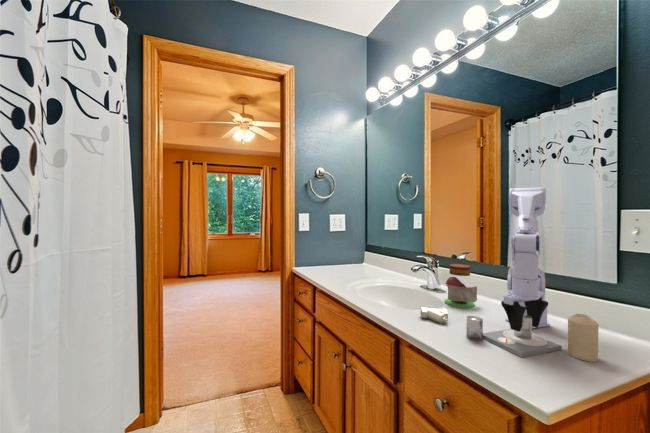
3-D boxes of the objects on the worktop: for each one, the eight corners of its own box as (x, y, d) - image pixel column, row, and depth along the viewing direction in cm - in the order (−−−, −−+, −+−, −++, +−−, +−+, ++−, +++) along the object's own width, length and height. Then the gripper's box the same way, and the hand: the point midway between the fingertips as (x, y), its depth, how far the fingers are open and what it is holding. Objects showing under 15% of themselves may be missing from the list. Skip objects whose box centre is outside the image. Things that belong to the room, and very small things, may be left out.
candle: (601, 364, 65) (601, 321, 65) (570, 357, 68) (570, 316, 68) (594, 354, 70) (595, 314, 70) (565, 349, 73) (566, 310, 73)
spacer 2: (517, 332, 80) (518, 312, 80) (534, 337, 77) (534, 317, 77) (511, 335, 78) (511, 315, 78) (527, 340, 74) (528, 319, 74)
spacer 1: (474, 334, 81) (474, 315, 82) (486, 340, 78) (486, 320, 78) (463, 336, 80) (463, 316, 80) (474, 342, 76) (474, 321, 76)
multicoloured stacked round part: (435, 299, 116) (435, 263, 116) (464, 299, 117) (464, 263, 118) (451, 309, 104) (451, 268, 104) (483, 308, 106) (483, 268, 106)
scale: (516, 331, 84) (516, 326, 84) (561, 349, 73) (561, 344, 73) (480, 337, 80) (480, 332, 80) (521, 357, 68) (521, 351, 68)
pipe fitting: (449, 327, 88) (445, 318, 95) (450, 315, 88) (445, 306, 95) (422, 324, 90) (420, 316, 97) (423, 313, 90) (420, 305, 96)
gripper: (526, 273, 83) (525, 319, 83) (492, 276, 78) (492, 326, 77) (553, 278, 77) (553, 328, 77) (519, 282, 71) (519, 336, 71)
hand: (524, 328), depth 77 cm, fingers open, 7 cm apart
